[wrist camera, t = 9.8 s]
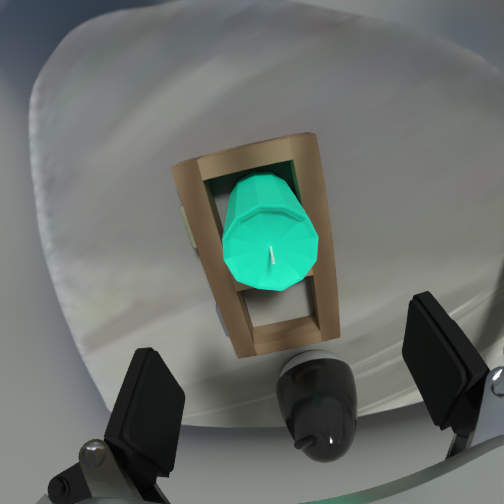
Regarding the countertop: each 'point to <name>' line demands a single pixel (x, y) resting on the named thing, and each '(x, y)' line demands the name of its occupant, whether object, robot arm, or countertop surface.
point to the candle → (267, 234)
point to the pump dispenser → (319, 404)
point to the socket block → (211, 246)
